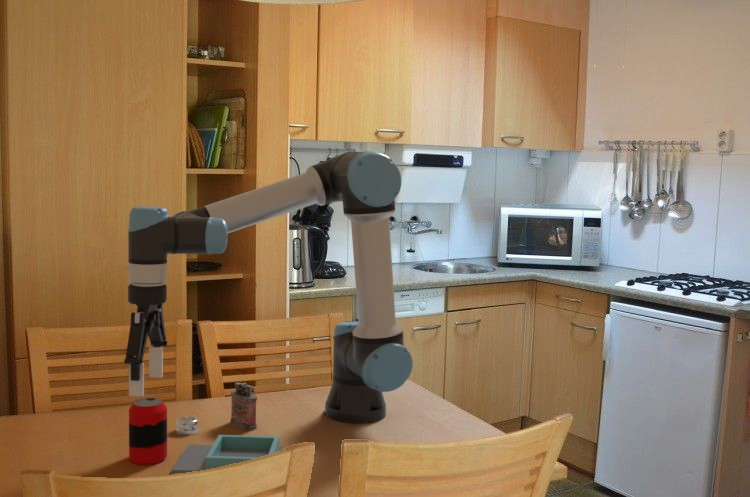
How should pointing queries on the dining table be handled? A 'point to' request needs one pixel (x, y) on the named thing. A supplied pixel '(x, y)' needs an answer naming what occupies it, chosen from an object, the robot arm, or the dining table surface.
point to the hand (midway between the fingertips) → (146, 386)
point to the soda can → (147, 431)
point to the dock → (226, 452)
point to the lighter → (243, 407)
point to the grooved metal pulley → (187, 425)
